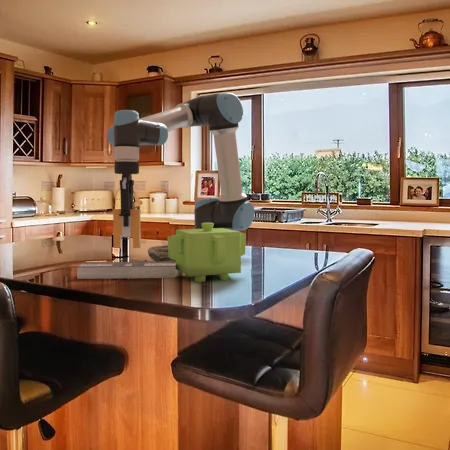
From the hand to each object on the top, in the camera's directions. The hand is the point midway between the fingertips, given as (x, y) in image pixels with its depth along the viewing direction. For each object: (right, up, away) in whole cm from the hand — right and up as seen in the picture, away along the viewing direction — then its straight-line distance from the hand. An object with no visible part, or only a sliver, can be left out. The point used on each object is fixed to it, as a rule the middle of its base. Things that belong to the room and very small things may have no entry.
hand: (127, 236), depth 151 cm
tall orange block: (0, -4, 0) cm, 4 cm away
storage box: (+25, -13, -1) cm, 28 cm away
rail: (0, -13, +1) cm, 13 cm away
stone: (+9, -11, +27) cm, 31 cm away
